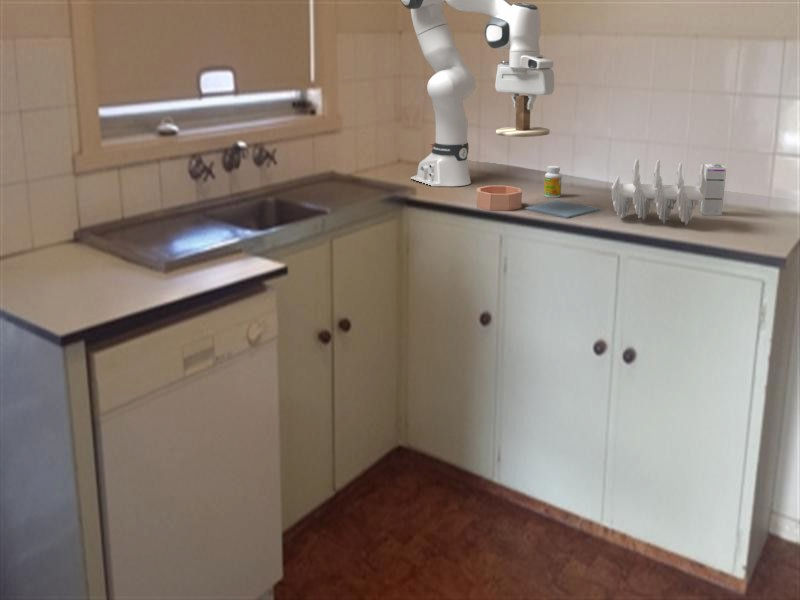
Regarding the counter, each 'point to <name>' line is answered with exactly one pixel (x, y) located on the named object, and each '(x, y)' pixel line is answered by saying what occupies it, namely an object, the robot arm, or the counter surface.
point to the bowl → (499, 198)
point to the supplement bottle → (552, 182)
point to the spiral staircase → (658, 195)
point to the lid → (522, 122)
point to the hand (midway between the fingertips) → (523, 109)
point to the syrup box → (713, 189)
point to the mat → (562, 209)
